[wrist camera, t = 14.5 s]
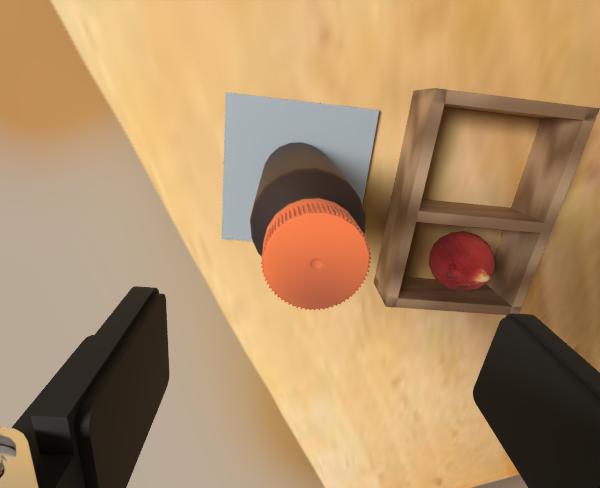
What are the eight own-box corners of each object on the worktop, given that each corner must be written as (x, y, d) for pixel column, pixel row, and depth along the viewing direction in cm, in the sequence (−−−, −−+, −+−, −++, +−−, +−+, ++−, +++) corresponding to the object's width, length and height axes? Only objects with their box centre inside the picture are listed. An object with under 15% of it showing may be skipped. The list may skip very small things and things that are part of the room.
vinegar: (248, 164, 33) (208, 237, 15) (311, 127, 32) (351, 157, 14) (284, 222, 36) (288, 349, 17) (343, 190, 35) (414, 287, 16)
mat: (226, 92, 31) (225, 92, 31) (377, 110, 33) (379, 110, 32) (222, 237, 37) (221, 238, 36) (353, 248, 38) (354, 249, 37)
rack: (413, 90, 32) (435, 88, 27) (555, 108, 33) (599, 108, 29) (373, 282, 39) (385, 306, 35) (491, 291, 41) (518, 315, 36)
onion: (444, 279, 40) (482, 320, 32) (407, 253, 38) (437, 289, 31) (481, 240, 38) (530, 273, 31) (444, 211, 37) (485, 238, 29)
